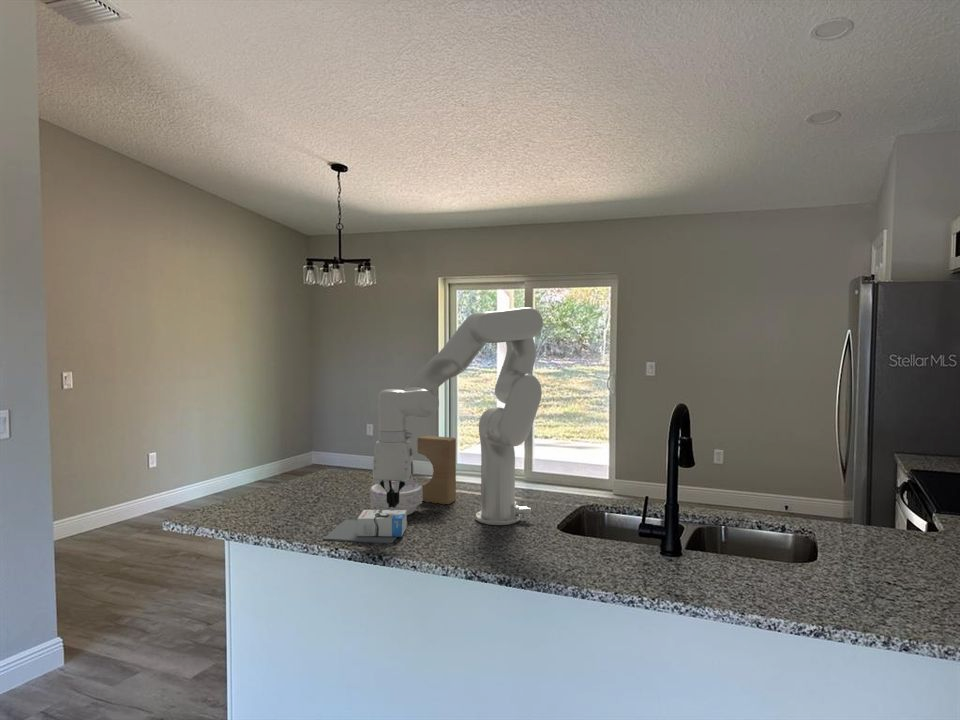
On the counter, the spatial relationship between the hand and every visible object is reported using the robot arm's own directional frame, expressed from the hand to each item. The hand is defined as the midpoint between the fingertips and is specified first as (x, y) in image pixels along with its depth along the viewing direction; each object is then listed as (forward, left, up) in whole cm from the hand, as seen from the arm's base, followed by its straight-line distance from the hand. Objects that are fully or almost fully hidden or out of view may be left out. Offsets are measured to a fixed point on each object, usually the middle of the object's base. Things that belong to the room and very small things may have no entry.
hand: (393, 506), depth 160 cm
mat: (+7, 0, -7) cm, 10 cm away
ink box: (-3, 0, -4) cm, 5 cm away
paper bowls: (+4, -18, -7) cm, 20 cm away
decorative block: (-5, -32, -7) cm, 33 cm away
